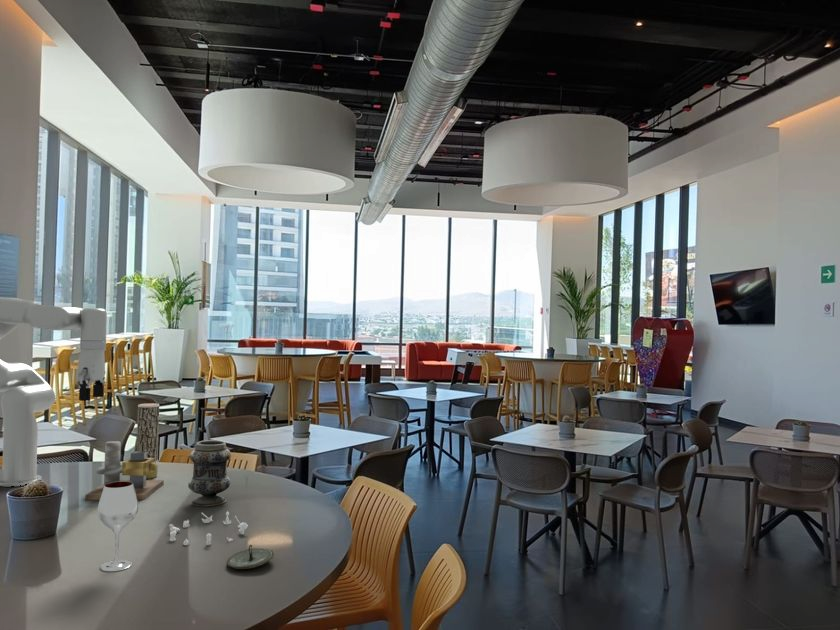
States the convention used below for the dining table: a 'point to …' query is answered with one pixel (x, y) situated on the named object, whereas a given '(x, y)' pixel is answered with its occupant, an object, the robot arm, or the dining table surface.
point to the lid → (250, 558)
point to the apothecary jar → (209, 472)
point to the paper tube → (148, 432)
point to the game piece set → (208, 536)
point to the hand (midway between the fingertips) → (91, 398)
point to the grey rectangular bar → (138, 480)
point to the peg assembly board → (124, 472)
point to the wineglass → (117, 516)
